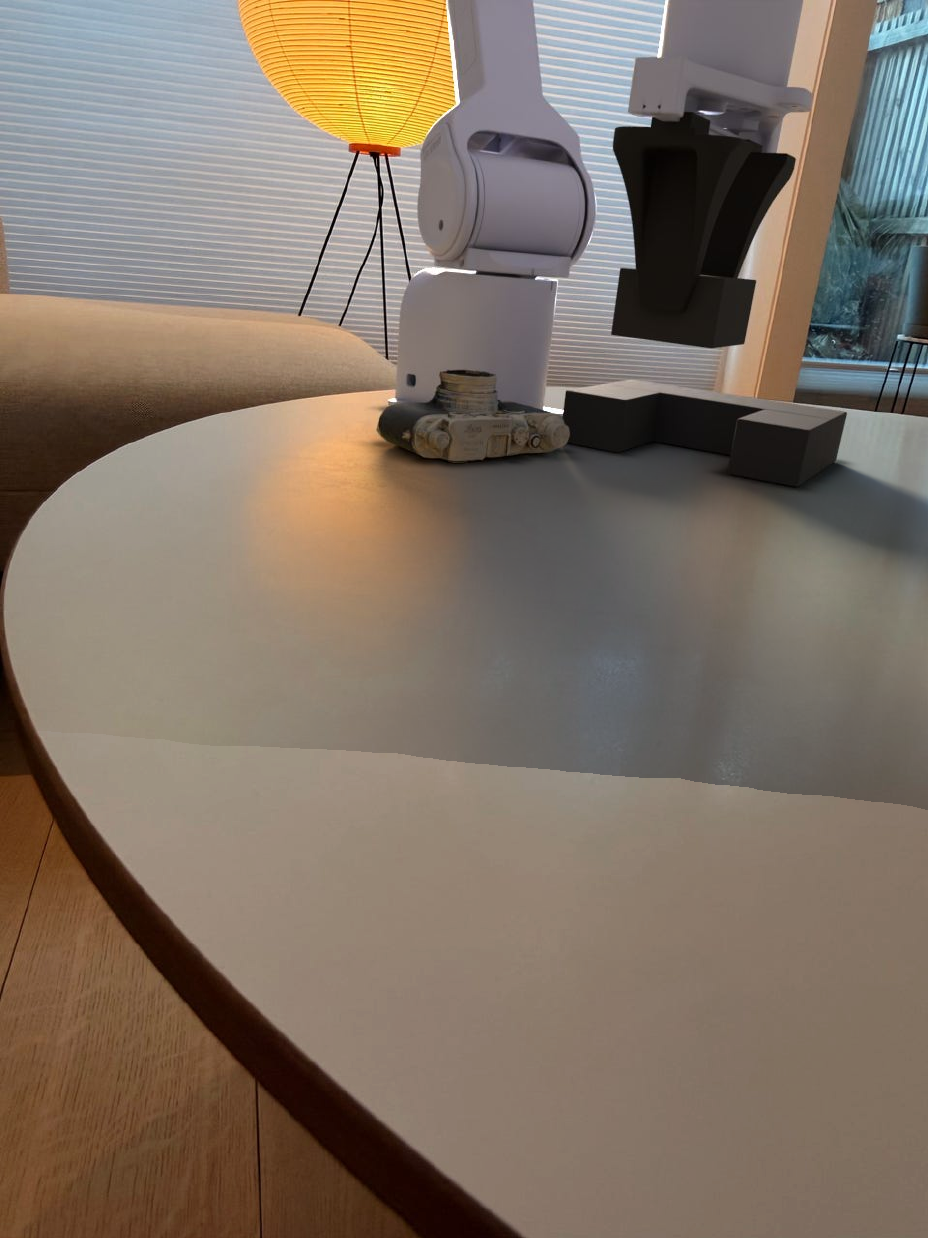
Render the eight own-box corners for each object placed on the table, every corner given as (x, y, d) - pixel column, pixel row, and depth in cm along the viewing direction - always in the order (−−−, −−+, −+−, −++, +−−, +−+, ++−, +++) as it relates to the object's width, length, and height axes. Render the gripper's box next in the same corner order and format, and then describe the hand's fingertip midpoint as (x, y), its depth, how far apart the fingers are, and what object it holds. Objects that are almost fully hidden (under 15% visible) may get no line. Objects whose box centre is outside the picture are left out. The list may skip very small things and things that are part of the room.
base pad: (559, 441, 55) (565, 390, 54) (624, 423, 64) (630, 378, 62) (797, 487, 49) (810, 430, 48) (836, 461, 57) (847, 411, 56)
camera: (578, 455, 52) (588, 378, 50) (417, 466, 46) (423, 379, 45) (523, 436, 56) (531, 364, 54) (369, 444, 50) (373, 364, 48)
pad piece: (610, 334, 44) (619, 267, 43) (649, 331, 48) (659, 270, 47) (712, 348, 42) (725, 277, 41) (744, 344, 46) (757, 279, 45)
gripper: (790, -94, 32) (715, 321, 37) (868, 11, 43) (803, 316, 48) (601, -77, 35) (557, 302, 40) (721, 17, 47) (675, 302, 52)
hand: (682, 309), depth 45 cm, fingers closed on pad piece, 5 cm apart
